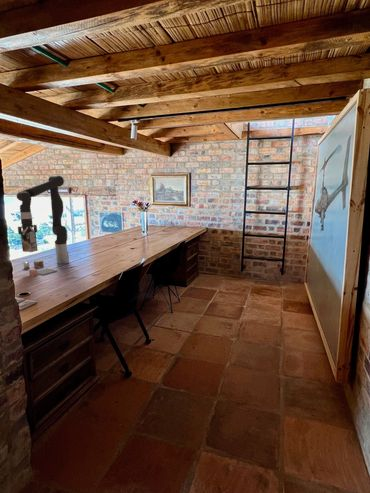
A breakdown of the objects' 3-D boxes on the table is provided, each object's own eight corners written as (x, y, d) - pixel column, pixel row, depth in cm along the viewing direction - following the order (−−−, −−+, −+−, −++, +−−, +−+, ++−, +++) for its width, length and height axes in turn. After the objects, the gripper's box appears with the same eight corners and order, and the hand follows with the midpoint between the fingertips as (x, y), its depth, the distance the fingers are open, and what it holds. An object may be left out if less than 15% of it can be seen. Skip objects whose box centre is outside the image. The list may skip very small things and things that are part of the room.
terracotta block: (34, 274, 215) (33, 269, 214) (37, 274, 213) (37, 269, 212) (29, 275, 211) (28, 270, 210) (32, 276, 209) (32, 271, 209)
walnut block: (39, 265, 238) (39, 260, 237) (43, 266, 235) (42, 260, 234) (34, 267, 233) (33, 261, 232) (37, 268, 231) (37, 262, 230)
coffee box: (38, 250, 223) (35, 230, 220) (31, 252, 217) (29, 231, 214) (28, 249, 225) (26, 230, 222) (22, 251, 219) (19, 231, 216)
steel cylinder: (27, 267, 232) (27, 261, 231) (30, 268, 230) (29, 262, 229) (23, 268, 229) (22, 262, 228) (25, 269, 227) (25, 263, 226)
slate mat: (47, 269, 227) (47, 268, 227) (56, 271, 221) (56, 270, 221) (33, 273, 217) (33, 272, 217) (42, 275, 211) (42, 274, 211)
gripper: (32, 216, 224) (34, 237, 227) (14, 218, 211) (16, 239, 215) (38, 217, 220) (40, 237, 223) (19, 219, 208) (22, 240, 211)
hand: (28, 238), depth 219 cm, fingers closed on coffee box, 7 cm apart
